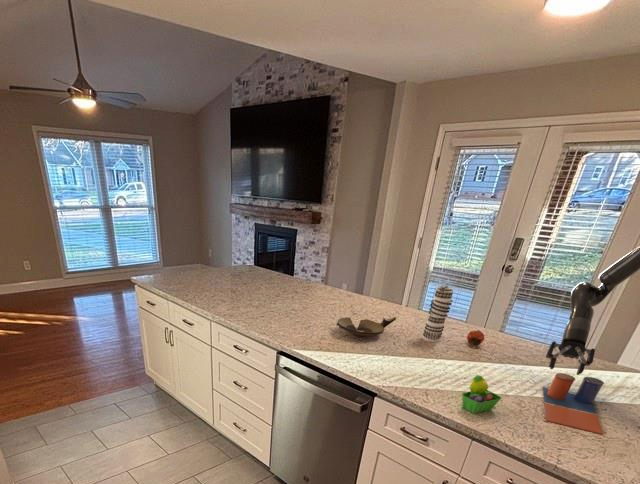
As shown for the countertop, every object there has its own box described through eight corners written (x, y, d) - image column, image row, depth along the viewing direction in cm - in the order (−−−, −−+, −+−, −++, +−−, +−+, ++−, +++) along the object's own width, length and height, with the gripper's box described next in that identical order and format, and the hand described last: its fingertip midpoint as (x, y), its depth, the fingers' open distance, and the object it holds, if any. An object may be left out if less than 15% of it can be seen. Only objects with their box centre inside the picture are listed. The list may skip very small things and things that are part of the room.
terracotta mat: (596, 416, 144) (597, 415, 144) (602, 434, 134) (603, 433, 134) (544, 403, 150) (544, 403, 150) (546, 421, 140) (546, 420, 140)
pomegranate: (479, 352, 197) (488, 336, 198) (477, 342, 191) (487, 326, 193) (463, 349, 201) (473, 333, 203) (461, 339, 196) (471, 323, 198)
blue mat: (590, 398, 155) (591, 397, 155) (596, 414, 145) (596, 413, 145) (542, 388, 161) (542, 387, 161) (544, 402, 151) (544, 401, 151)
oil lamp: (333, 324, 216) (335, 310, 212) (391, 328, 214) (394, 314, 210) (335, 339, 197) (338, 324, 193) (399, 344, 195) (403, 328, 191)
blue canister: (592, 398, 154) (602, 379, 150) (594, 405, 150) (605, 385, 145) (572, 394, 157) (582, 375, 152) (574, 401, 152) (584, 381, 148)
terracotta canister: (564, 394, 156) (574, 375, 152) (566, 401, 152) (576, 381, 147) (545, 390, 159) (555, 371, 154) (546, 397, 154) (556, 377, 150)
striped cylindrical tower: (444, 341, 201) (460, 289, 187) (427, 342, 199) (442, 289, 186) (435, 335, 208) (449, 284, 195) (418, 335, 207) (431, 284, 193)
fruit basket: (473, 416, 141) (485, 386, 134) (454, 404, 147) (463, 375, 141) (497, 410, 145) (509, 381, 138) (477, 399, 151) (487, 371, 145)
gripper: (558, 324, 155) (546, 362, 153) (603, 331, 150) (592, 371, 147) (551, 333, 162) (540, 370, 160) (594, 341, 156) (583, 379, 154)
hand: (565, 371), depth 153 cm, fingers open, 8 cm apart
